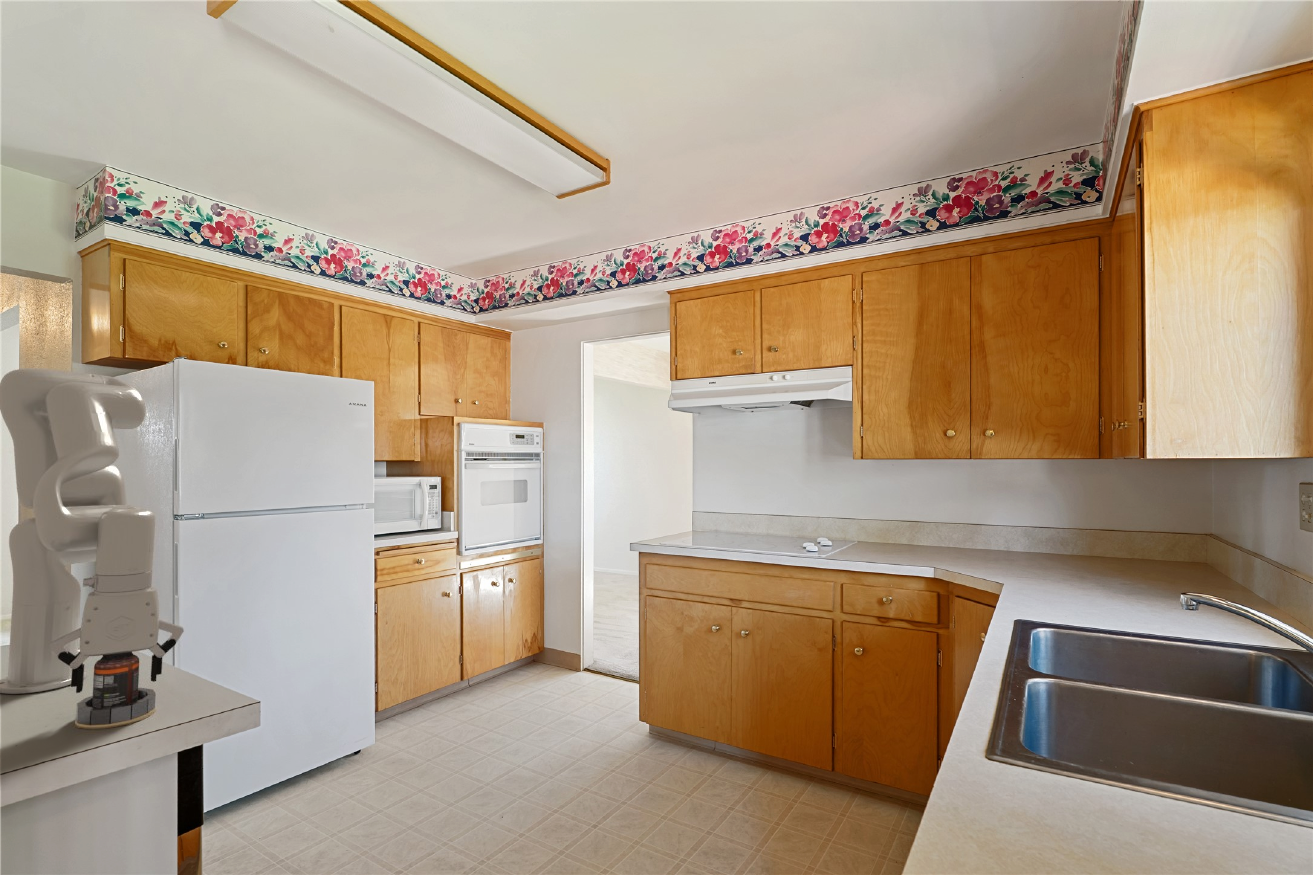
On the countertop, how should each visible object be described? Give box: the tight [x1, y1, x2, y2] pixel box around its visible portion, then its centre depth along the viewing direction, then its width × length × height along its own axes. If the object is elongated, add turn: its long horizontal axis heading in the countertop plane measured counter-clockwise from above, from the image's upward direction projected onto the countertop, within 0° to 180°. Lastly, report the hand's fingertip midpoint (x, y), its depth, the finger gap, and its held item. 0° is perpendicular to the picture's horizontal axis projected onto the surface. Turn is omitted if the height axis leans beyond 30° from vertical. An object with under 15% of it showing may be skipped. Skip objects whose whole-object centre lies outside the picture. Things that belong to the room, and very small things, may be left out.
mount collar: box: [74, 687, 156, 730], centre depth 109 cm, size 10×10×3 cm
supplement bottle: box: [92, 652, 140, 708], centre depth 109 cm, size 6×6×11 cm
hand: (117, 684), depth 109 cm, fingers open, 9 cm apart
